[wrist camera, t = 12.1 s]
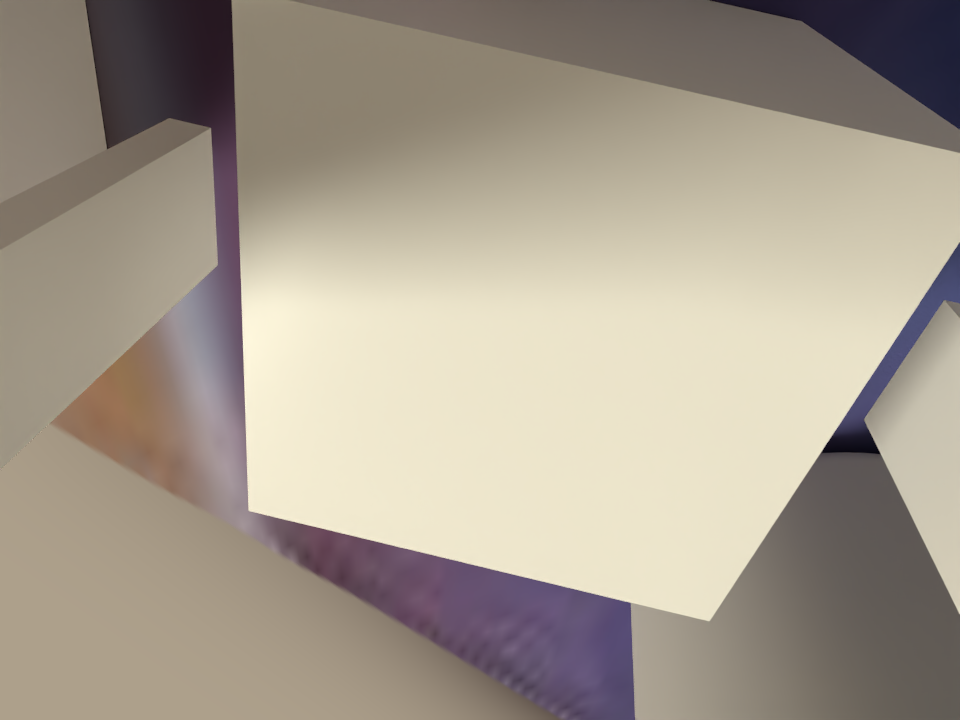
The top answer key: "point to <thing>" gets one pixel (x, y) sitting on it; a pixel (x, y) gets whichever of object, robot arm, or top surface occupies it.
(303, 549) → the top surface
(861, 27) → the top surface
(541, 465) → the cover
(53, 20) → the cover
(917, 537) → the cylinder vase
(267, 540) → the top surface
